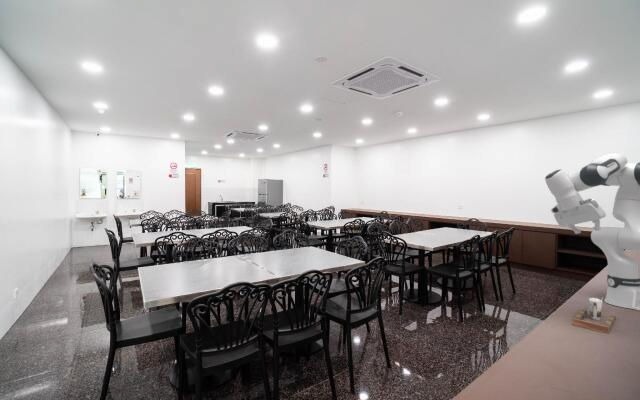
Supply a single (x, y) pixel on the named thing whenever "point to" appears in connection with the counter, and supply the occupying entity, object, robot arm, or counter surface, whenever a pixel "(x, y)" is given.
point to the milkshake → (595, 308)
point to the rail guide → (593, 326)
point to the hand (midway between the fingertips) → (588, 231)
